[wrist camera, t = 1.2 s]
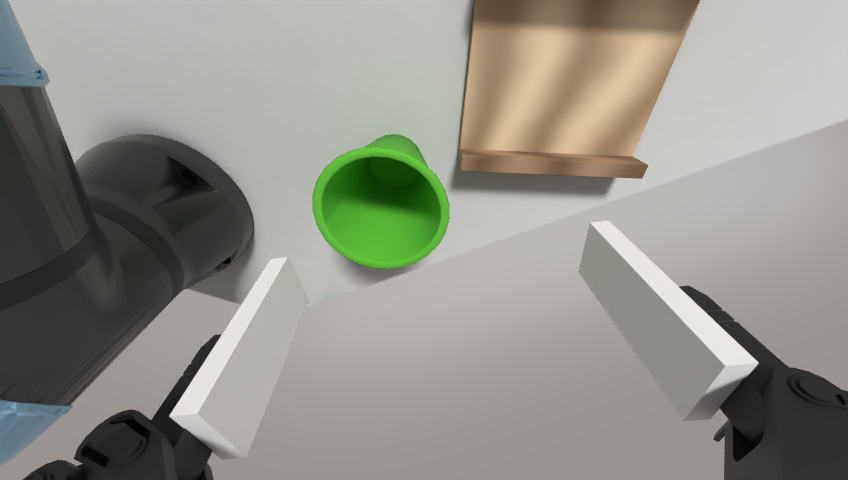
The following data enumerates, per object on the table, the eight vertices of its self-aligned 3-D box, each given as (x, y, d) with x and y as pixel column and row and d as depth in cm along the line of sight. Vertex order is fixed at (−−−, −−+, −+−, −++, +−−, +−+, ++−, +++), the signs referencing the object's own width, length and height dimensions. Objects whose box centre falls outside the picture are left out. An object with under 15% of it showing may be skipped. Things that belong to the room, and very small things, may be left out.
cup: (447, 195, 31) (457, 261, 22) (363, 208, 32) (337, 276, 23) (434, 102, 26) (439, 136, 17) (335, 121, 27) (287, 162, 18)
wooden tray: (457, 158, 29) (461, 170, 26) (478, -38, 21) (486, -50, 18) (622, 165, 29) (642, 178, 26) (703, -26, 21) (743, -35, 19)
